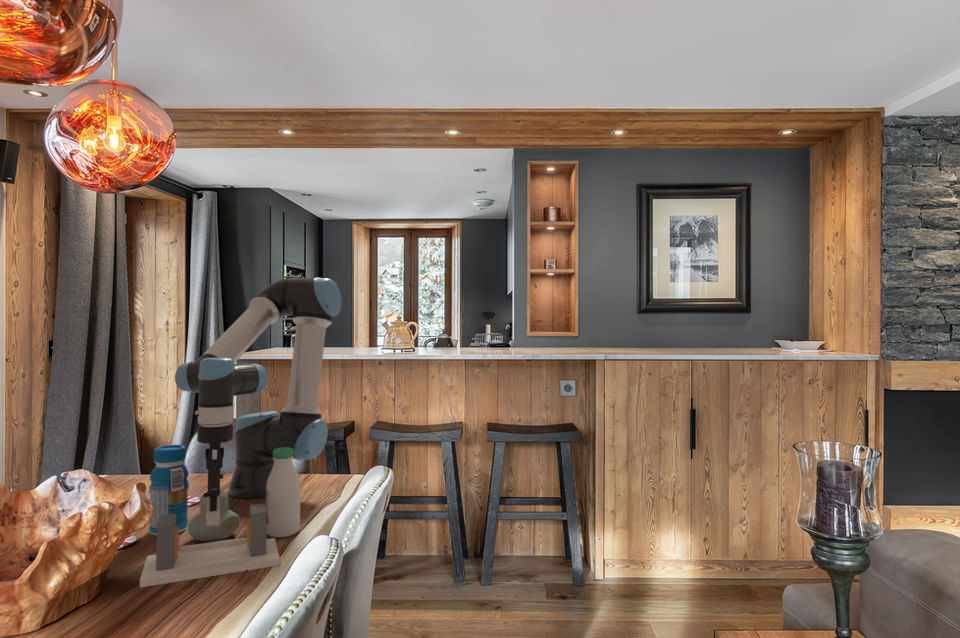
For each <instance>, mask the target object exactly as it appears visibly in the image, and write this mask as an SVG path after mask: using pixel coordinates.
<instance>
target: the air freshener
mask: <svg viewBox="0 0 960 638" xmlns="http://www.w3.org/2000/svg"><path fill="white" fill-rule="evenodd" d="M206 506H207V497H204V494H203V495H201V496H200V507H199V508H200V513H198V514H196V515H195V516H194V517H193V518H191V520H190V521H189V522H188V526H187V532H188V534H189V535H190V537H192V539H195V540H197V541H200V542H203V543H210V542H217V541H224V540H227V538H229V537H231V536H233V534H234V533H235V532H236V531H237V530H238V528H239V526H240V523H241V519H240V517H239V515H238V514H237V513H236V512H234V511H232V509H229V493H227V492H225V491H220V523H219V525H212V526H206Z"/></svg>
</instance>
